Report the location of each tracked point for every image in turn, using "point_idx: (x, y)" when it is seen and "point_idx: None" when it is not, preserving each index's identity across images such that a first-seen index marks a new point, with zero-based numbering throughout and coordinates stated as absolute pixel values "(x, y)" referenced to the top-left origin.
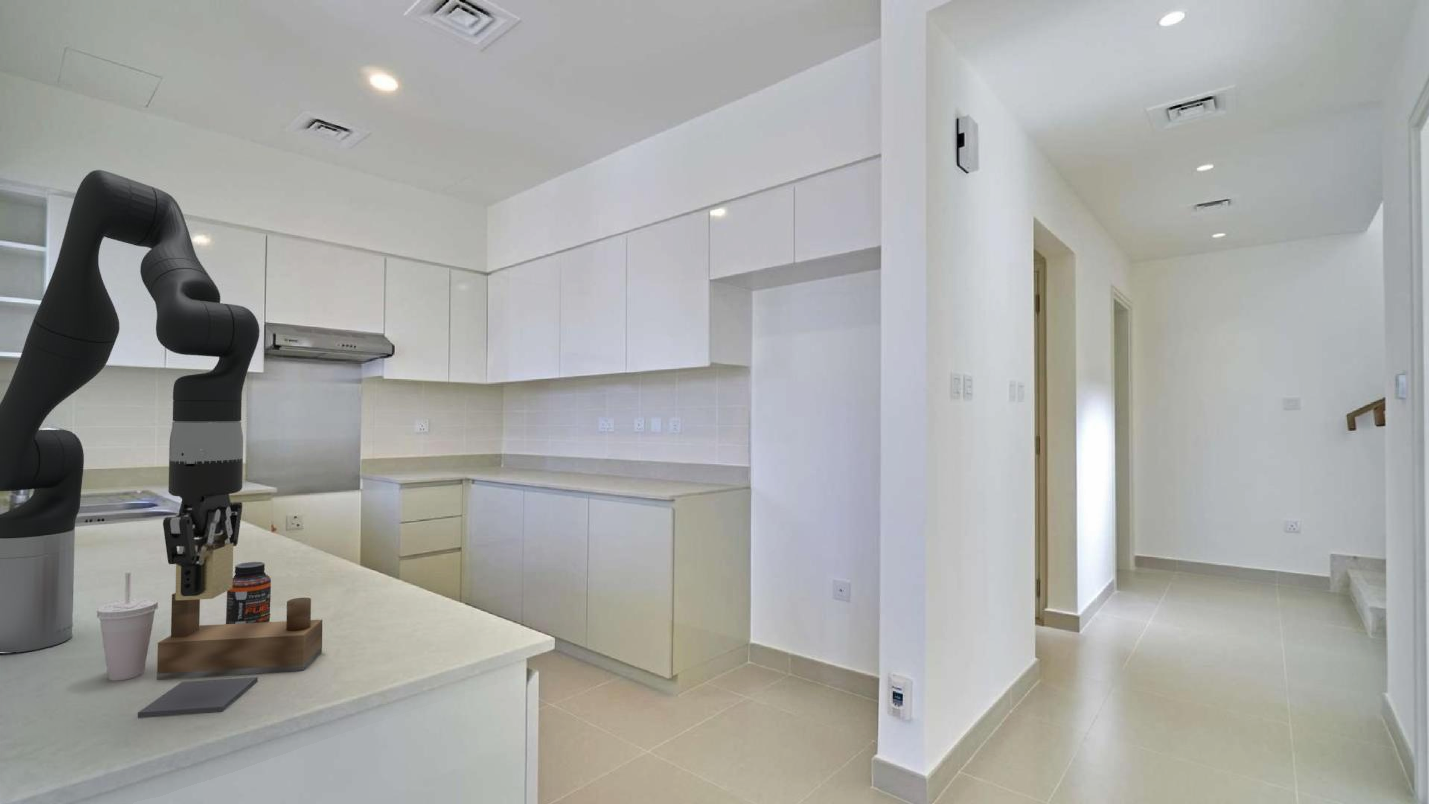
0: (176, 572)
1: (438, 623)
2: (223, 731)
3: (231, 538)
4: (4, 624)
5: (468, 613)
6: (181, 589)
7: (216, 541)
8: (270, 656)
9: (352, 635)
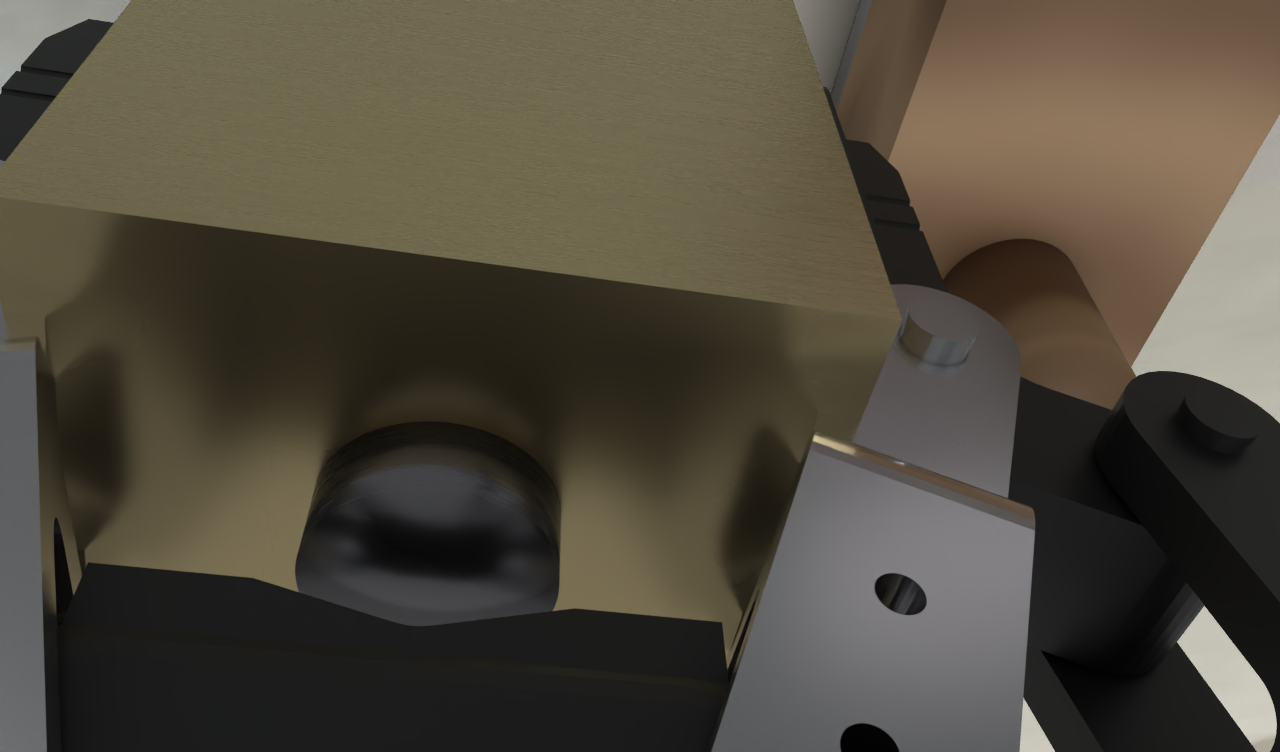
0: (124, 13)
1: (1185, 647)
2: (41, 39)
3: (1038, 680)
4: None
5: (1252, 726)
6: (50, 40)
7: (1051, 502)
8: (857, 117)
9: (1268, 359)
